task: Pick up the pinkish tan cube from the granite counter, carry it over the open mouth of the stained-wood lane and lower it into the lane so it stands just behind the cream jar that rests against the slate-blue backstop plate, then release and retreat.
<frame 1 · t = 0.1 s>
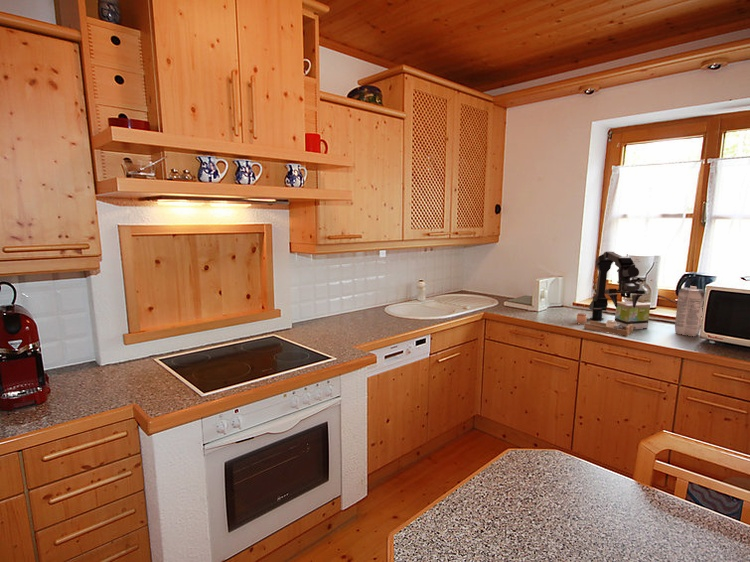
hand: (625, 307, 230), 15 cm above the kitchen counter, tool pointing down, fingers open, 9 cm apart
pinkish tan cube: (581, 323, 256), on the kitchen counter
pusher plate: (619, 328, 236), point 2 cm above the kitchen counter, slide at 8.0 cm
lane: (607, 330, 241), on the kitchen counter
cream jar: (610, 331, 239), resting in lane
juice carton: (686, 334, 233), on the kitchen counter
tea box: (630, 327, 247), on the kitchen counter
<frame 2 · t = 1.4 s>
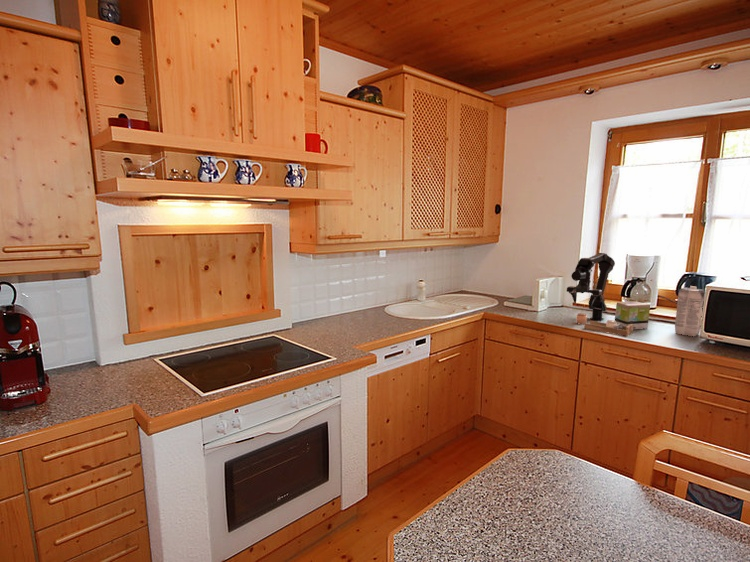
hand: (582, 304, 254), 12 cm above the kitchen counter, tool pointing down, fingers open, 9 cm apart
nothing on the kitchen counter moved.
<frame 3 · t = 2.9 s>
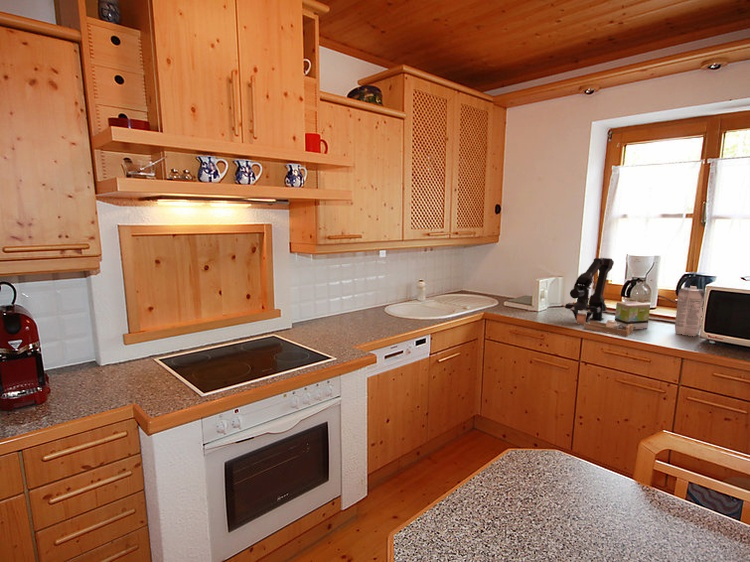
hand: (581, 321, 256), 1 cm above the kitchen counter, tool pointing down, fingers closed on pinkish tan cube, 5 cm apart
pinkish tan cube: (581, 323, 256), on the kitchen counter, touching gripper
everything else where it was.
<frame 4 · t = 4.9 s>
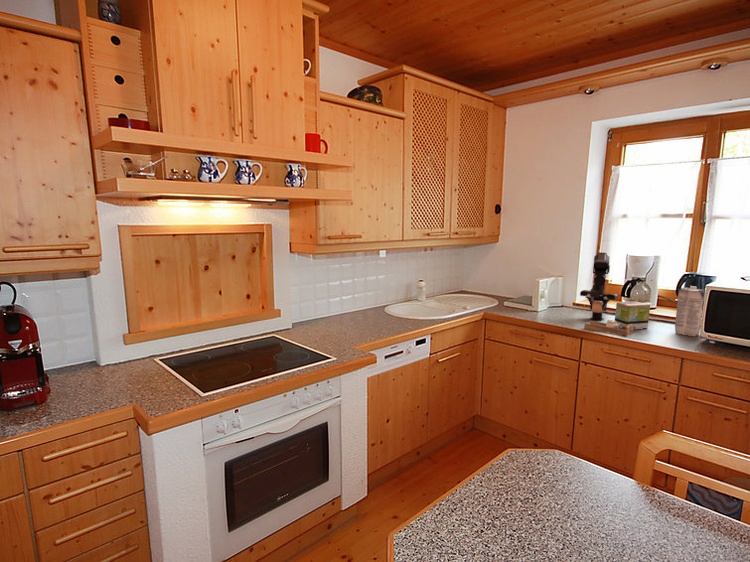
hand: (597, 309, 243), 11 cm above the kitchen counter, tool pointing down, fingers closed on pinkish tan cube, 5 cm apart
pinkish tan cube: (597, 311, 243), point 10 cm above the kitchen counter, touching gripper
everything else where it was.
when the fingers open (2 cm above the kitchen counter, at t = 7.1 s): pinkish tan cube drops 1 cm, resting in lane.
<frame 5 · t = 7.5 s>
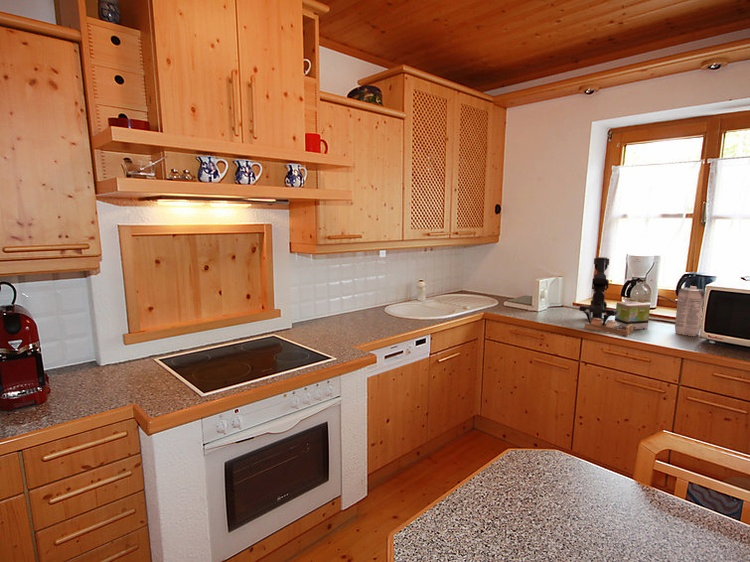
hand: (596, 324, 245), 2 cm above the kitchen counter, tool pointing down, fingers open, 7 cm apart
pinkish tan cube: (596, 328, 245), resting in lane
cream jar: (610, 331, 239), resting in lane, touching gripper
everything else where it was.
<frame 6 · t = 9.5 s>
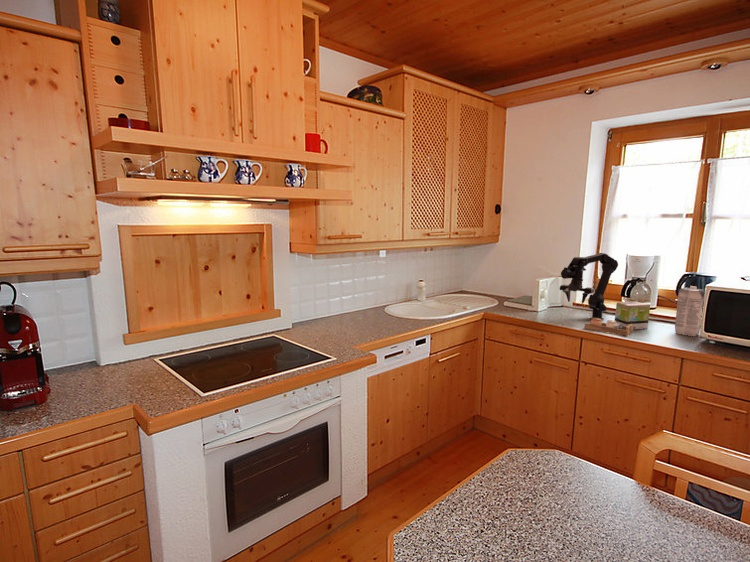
hand: (575, 302, 259), 12 cm above the kitchen counter, tool pointing down, fingers open, 8 cm apart
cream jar: (610, 331, 239), resting in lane
everything else where it was.
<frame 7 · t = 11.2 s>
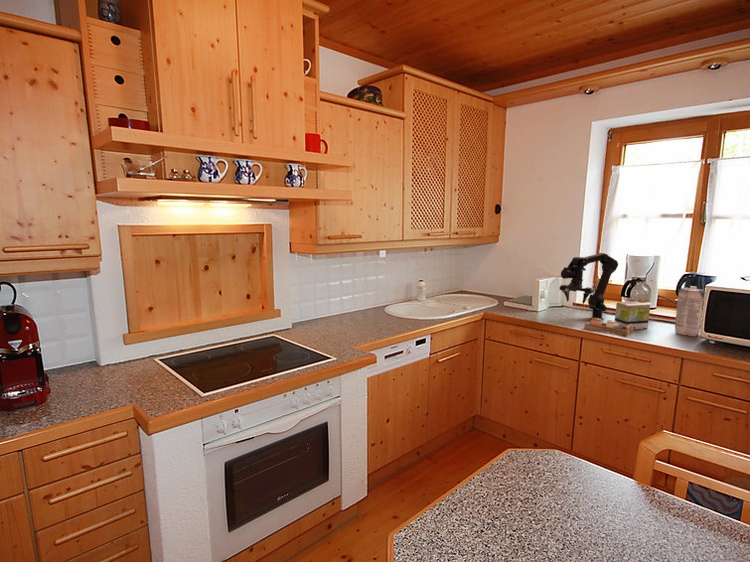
hand: (575, 302, 259), 12 cm above the kitchen counter, tool pointing down, fingers open, 9 cm apart
nothing on the kitchen counter moved.
at the end: pinkish tan cube inside the target area (1.2 cm from its centre), resting in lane; pinkish tan cube tilted 0°; pinkish tan cube 7.9 cm from the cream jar (horizontally) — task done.
